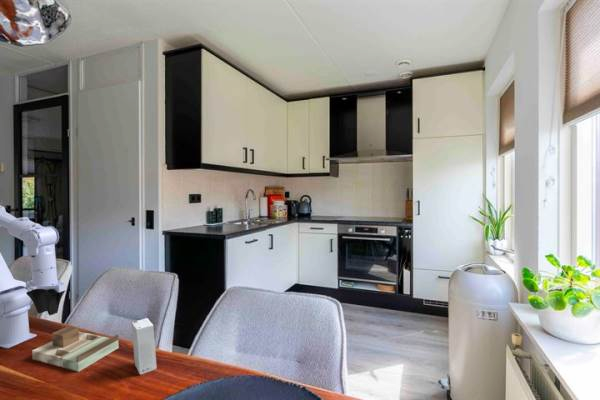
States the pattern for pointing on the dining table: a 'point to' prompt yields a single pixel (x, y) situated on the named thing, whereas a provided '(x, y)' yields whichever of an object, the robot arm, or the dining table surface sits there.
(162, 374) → the dining table surface
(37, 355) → the box
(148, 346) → the skincare box
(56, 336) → the walnut block
